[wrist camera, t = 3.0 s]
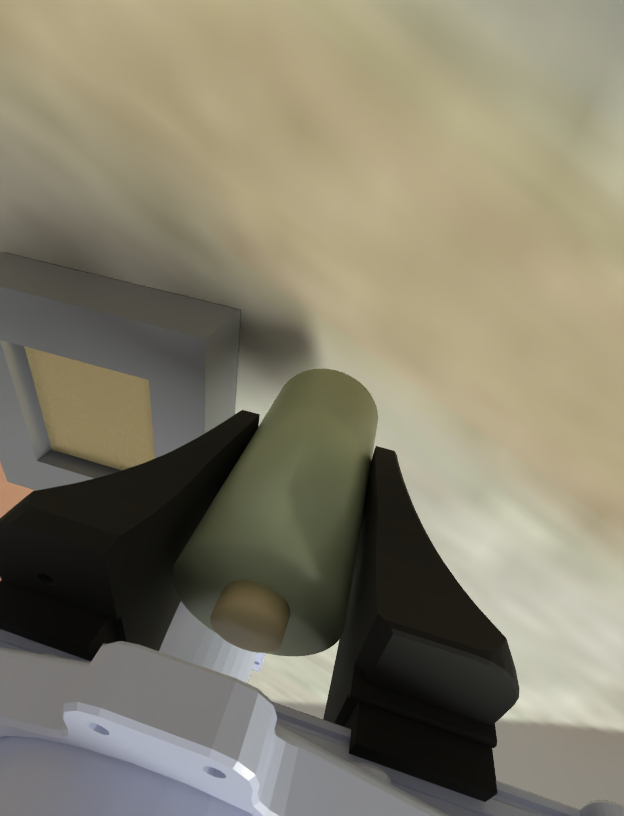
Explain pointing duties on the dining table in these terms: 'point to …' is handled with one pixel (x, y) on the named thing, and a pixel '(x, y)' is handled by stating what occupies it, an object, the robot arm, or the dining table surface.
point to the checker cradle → (108, 360)
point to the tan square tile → (93, 410)
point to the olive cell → (286, 523)
